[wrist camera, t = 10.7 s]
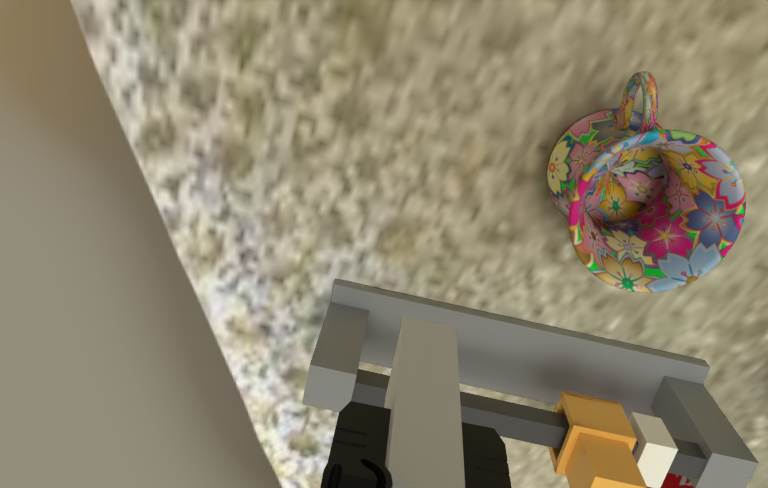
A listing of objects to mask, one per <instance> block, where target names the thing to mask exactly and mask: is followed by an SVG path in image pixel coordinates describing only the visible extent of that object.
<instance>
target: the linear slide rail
mask: <svg viewBox="0 0 768 488" xmlns="http://www.w3.org/2000/svg"><path fill="white" fill-rule="evenodd" d="M403 316H407V317H412V318H417V319H422V320H426V321H431V322H436V323H441V324H446V325H451V326H456V334H457V352H458V370H459V383H461V384H466V385H470V386H475V387H479V388H484V389H489V390H493V391H498V392H502V393H507V394H511V395H516V396H520V397H525V398H530V399H534V400H539V401H543V402H548V403H552V404H557V403H558V400H559V397H560V395H561V392H562V390H564V391H568V392H573V393H577V394H582V395H586V396H591V397H595V398H600V399H604V400H609V401H614V402H618V403H620V404H621V406H622V408H623V410H624V412H625V414H626V416H627V418H628V420H629V423H630V425H631V427H632V429H633V431H634V433H635V435H636V437H637V441H636V443H635V445H634V448H633V450H632V454H633V457H634V459H635V461H636V463H637V466H638V468H639V470H640V472H641V475H642V477H643V479H644V481H645V484H646V486H647V487H652V488H661V485H662V483H663V481H664V479H665V477H666V475H667V473H672V474H676V475H681V476H685V477H688V478H689V480H690V482H691V484H692V486H693V488H746V486H747V484H748V482H749V480H750V479H751V477H752V475H753V473H754V471H755V469H756V467H757V465H758V461H757V460H756V459H755V457H754V456H753V454H752V453H751V452H750V450H749V449H748V447H747V446H746V445H745V443H744V442H743V440H742V439H741V437H740V436H739V435H738V433H737V432H736V430H735V429H734V428H733V426H732V425H731V423H730V422H729V421H728V419H727V418H726V416H725V415H724V414H723V412H722V411H721V409H720V408H719V407H718V405H717V404H716V402H715V401H714V400H713V398H712V397H711V395H710V394H709V393H708V391H707V390H706V388H705V387H704V385H703V382H704V380H705V377H706V375H707V373H708V371H709V369H710V367H709V365H708V364H707V363H706V361H705V360H700V359H696V358H691V357H687V356H682V355H677V354H673V353H668V352H664V351H659V350H655V349H650V348H646V347H641V346H637V345H632V344H628V343H623V342H619V341H614V340H610V339H605V338H601V337H596V336H592V335H587V334H583V333H578V332H574V331H569V330H565V329H560V328H555V327H551V326H546V325H542V324H537V323H533V322H528V321H524V320H519V319H515V318H510V317H506V316H501V315H497V314H492V313H488V312H483V311H479V310H474V309H470V308H465V307H461V306H456V305H452V304H447V303H442V302H438V301H433V300H429V299H424V298H420V297H415V296H411V295H406V294H402V293H397V292H393V291H388V290H384V289H379V288H375V287H370V286H366V285H361V284H357V283H352V282H348V281H343V280H339V279H336V280H335V283H334V287H333V292H332V297H331V302H330V305H329V308H328V311H327V314H326V317H325V320H324V323H323V326H322V329H321V333H320V336H319V339H318V342H317V345H316V348H315V351H314V354H313V357H312V360H311V363H310V367H309V372H308V377H307V382H306V387H305V392H304V398H303V403H302V404H305V405H309V406H314V407H318V408H323V409H327V410H332V411H337V412H340V411H341V410H342V409H343V408H344V407H345V406H346V405H347V404H348V403H349V402H350V401H354V402H358V403H363V404H368V405H373V406H378V407H383V408H384V405H385V397H386V392H387V388H388V383H389V379H390V376H387V375H383V374H378V373H374V372H369V371H365V370H360V369H358V366H359V361H361V362H366V363H370V364H375V365H379V366H384V367H388V368H392V365H393V361H394V356H395V352H396V348H397V343H398V339H399V334H400V330H401V325H402V321H403ZM460 405H461V422H465V423H469V424H474V425H479V426H484V427H489V428H494V429H495V430H496V432H497V433H498V435H499V436H503V437H507V438H512V439H516V440H521V441H525V442H530V443H535V444H539V445H544V446H548V447H553V448H557V449H561V448H562V446H563V443H564V440H565V438H566V435H567V433H568V430H569V427H570V426H569V423H568V420H567V417H566V415H565V414H561V413H556V412H551V411H547V410H542V409H538V408H533V407H529V406H524V405H520V404H515V403H510V402H506V401H501V400H497V399H492V398H488V397H483V396H479V395H474V394H469V393H465V392H460Z"/></svg>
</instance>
